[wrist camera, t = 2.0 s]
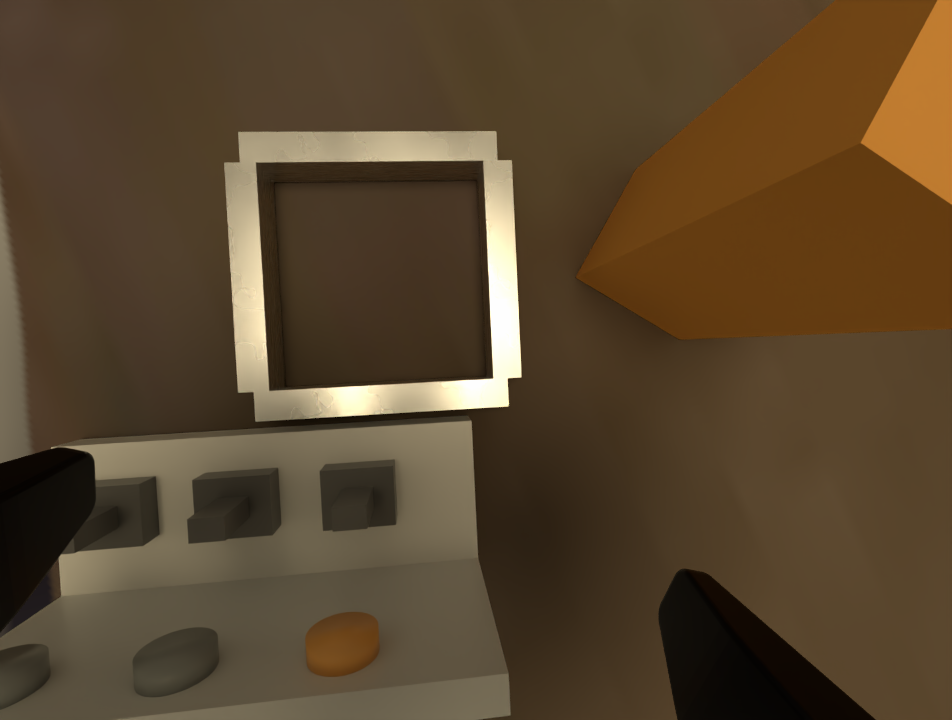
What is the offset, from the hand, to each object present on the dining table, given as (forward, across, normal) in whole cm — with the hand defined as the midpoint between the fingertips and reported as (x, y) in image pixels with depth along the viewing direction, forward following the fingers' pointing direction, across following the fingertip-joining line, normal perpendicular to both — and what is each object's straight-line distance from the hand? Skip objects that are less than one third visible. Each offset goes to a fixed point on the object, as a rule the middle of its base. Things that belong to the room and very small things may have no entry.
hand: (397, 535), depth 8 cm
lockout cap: (+14, -8, -4) cm, 17 cm away
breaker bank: (+9, +4, +8) cm, 13 cm away
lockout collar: (+13, +2, 0) cm, 13 cm away
